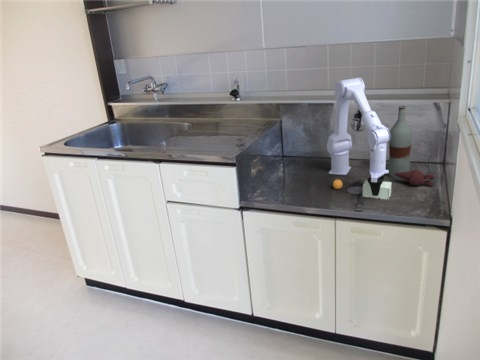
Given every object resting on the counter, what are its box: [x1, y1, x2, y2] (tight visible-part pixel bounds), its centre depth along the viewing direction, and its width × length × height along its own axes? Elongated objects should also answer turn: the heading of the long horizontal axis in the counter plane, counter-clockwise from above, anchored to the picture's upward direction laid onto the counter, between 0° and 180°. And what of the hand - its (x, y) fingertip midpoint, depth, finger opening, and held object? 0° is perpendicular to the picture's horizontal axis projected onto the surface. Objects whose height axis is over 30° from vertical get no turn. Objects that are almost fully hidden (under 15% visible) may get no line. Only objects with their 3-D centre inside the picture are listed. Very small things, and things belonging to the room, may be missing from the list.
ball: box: [332, 179, 344, 190], centre depth 165 cm, size 4×4×4 cm
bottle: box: [386, 105, 413, 180], centre depth 166 cm, size 9×9×30 cm
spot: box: [346, 186, 363, 195], centre depth 162 cm, size 7×7×1 cm
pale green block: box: [362, 179, 392, 201], centre depth 156 cm, size 6×10×5 cm, turn 62°
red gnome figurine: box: [395, 168, 436, 187], centre depth 161 cm, size 7×7×15 cm
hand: (376, 191), depth 156 cm, fingers closed on pale green block, 6 cm apart
